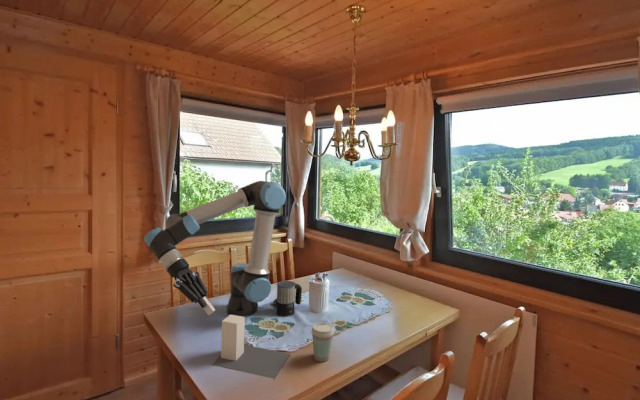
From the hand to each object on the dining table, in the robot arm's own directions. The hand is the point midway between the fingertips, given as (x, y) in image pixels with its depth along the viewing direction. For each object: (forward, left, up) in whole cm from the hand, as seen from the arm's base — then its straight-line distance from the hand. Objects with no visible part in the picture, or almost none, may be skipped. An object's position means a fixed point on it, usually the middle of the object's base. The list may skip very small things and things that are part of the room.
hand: (212, 312), depth 127 cm
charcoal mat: (-9, +14, -16) cm, 23 cm away
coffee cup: (-30, +29, -16) cm, 45 cm away
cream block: (-5, +7, -15) cm, 18 cm away
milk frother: (-46, -14, -16) cm, 50 cm away
